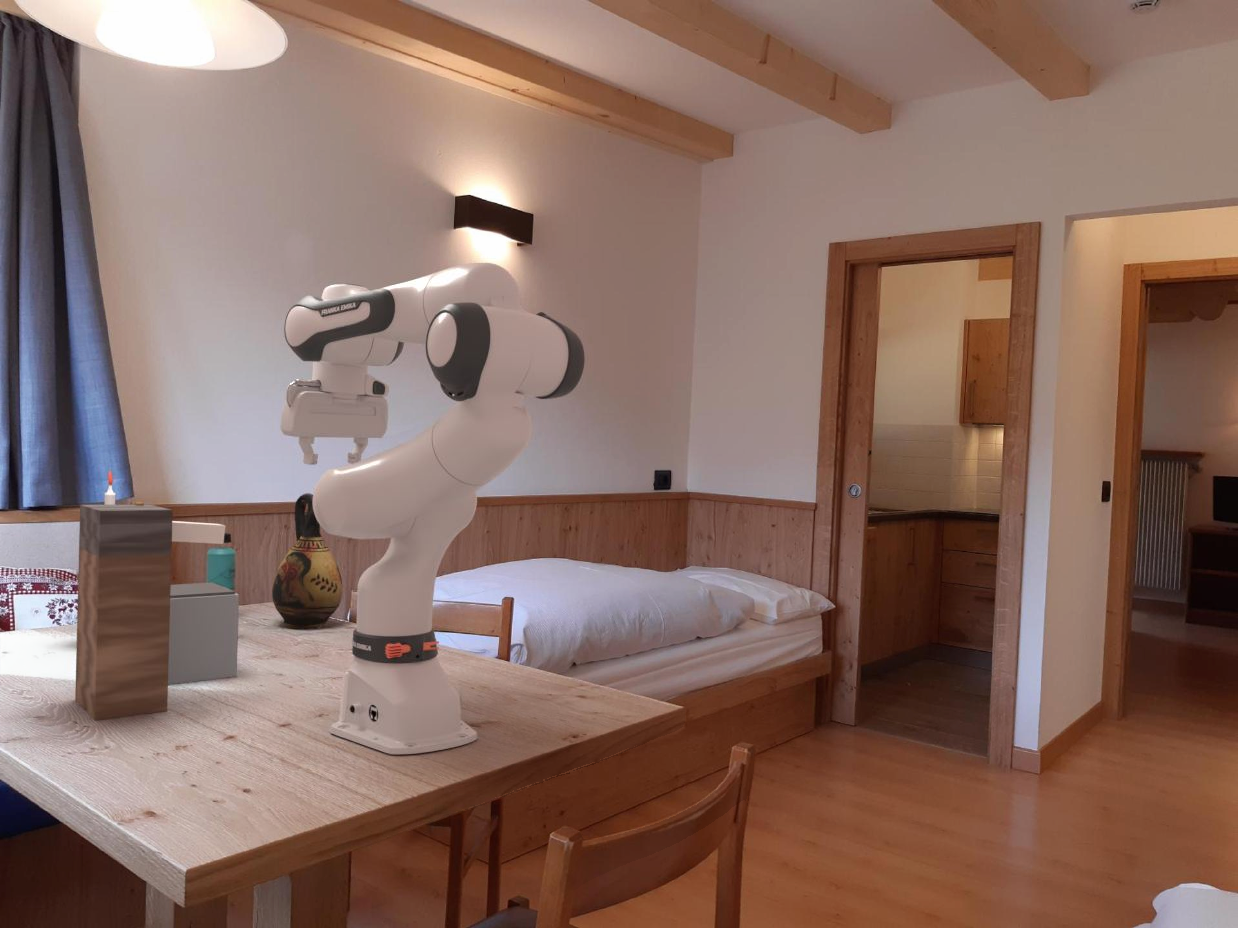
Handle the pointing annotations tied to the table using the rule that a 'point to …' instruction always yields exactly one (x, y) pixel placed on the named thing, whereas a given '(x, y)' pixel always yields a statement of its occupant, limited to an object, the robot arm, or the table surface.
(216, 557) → the beverage bottle
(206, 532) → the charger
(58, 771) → the table surface
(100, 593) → the stand
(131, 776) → the table surface
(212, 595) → the shelf
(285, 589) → the ceramic jug
